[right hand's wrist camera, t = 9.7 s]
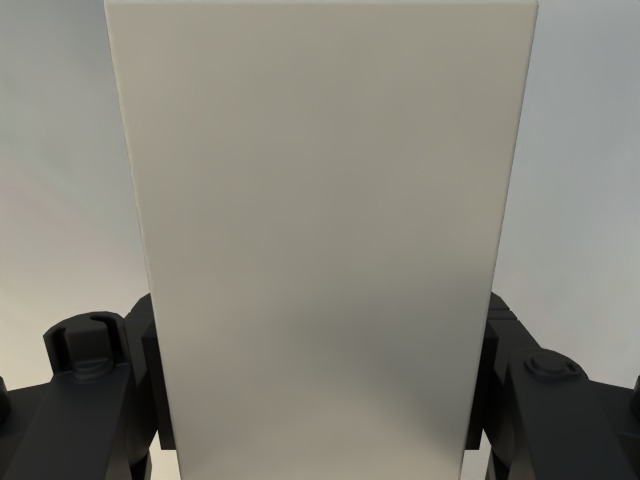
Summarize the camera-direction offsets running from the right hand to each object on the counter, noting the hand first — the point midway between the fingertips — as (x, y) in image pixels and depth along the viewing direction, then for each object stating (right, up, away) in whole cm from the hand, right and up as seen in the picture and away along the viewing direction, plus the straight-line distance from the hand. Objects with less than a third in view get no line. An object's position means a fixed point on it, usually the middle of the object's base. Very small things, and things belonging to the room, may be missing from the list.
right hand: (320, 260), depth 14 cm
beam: (0, -29, +12) cm, 31 cm away
